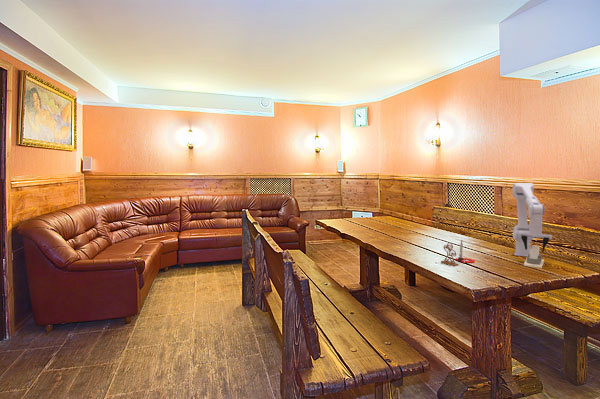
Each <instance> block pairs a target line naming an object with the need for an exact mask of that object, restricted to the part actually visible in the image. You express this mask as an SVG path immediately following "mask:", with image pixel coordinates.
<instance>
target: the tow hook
mask: <svg viewBox="0 0 600 399" xmlns="http://www.w3.org/2000/svg"><path fill="white" fill-rule="evenodd" d="M463 241H464V240H463V239H461V240H460V245H459V253H458V254H459V256H458V257H455V259H454V261H457V262H460V263H462V264H473V263H475V262H476V261H475V259H472V258H467V257H463V245H464V244H463Z"/></svg>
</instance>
